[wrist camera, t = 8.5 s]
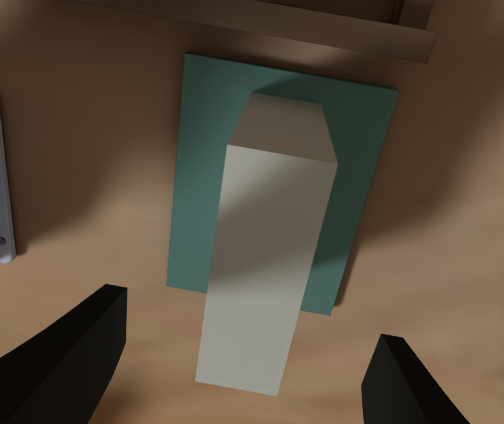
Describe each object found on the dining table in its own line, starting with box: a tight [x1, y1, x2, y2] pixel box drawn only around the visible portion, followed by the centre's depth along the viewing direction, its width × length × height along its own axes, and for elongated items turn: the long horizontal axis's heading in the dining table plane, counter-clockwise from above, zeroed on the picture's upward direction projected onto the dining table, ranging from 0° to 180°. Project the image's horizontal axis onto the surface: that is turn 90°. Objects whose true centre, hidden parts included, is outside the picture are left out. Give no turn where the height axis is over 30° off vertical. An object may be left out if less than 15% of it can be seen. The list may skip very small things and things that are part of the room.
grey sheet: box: [195, 92, 338, 396], centre depth 17 cm, size 9×3×8 cm, turn 171°
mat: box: [166, 52, 399, 316], centre depth 21 cm, size 12×9×1 cm
